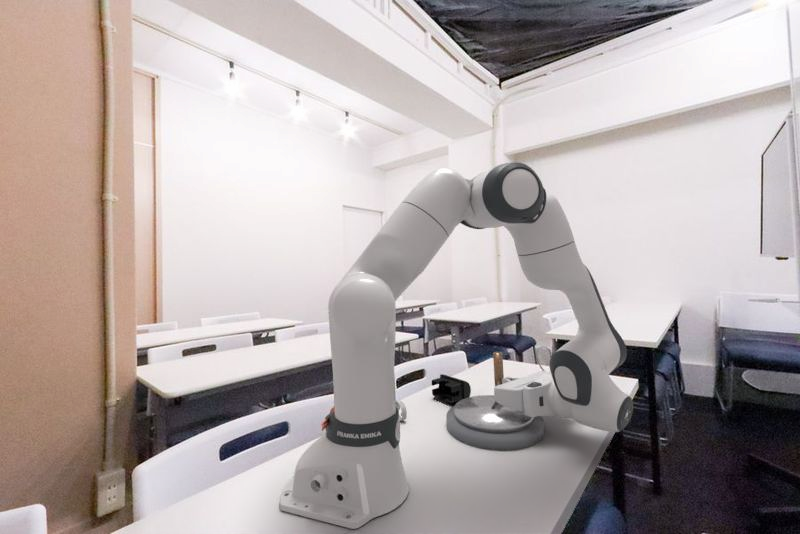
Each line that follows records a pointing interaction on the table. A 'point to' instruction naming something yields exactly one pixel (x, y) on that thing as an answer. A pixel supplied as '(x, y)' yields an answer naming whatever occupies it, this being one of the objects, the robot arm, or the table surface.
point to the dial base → (496, 435)
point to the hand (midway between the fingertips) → (504, 380)
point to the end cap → (450, 390)
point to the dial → (491, 409)
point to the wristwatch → (403, 409)
